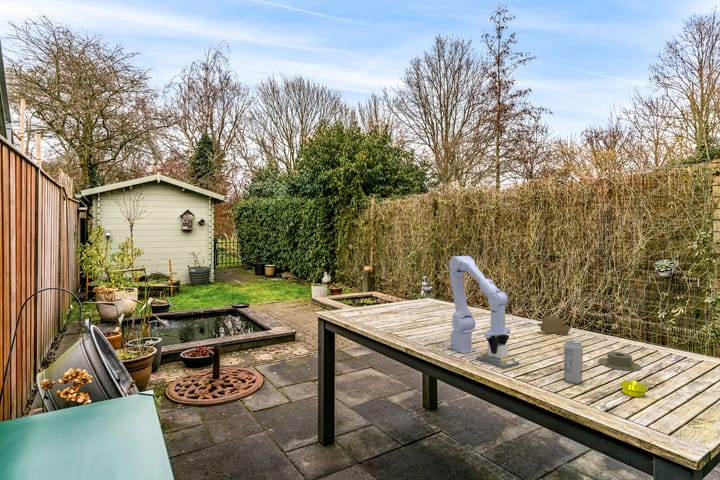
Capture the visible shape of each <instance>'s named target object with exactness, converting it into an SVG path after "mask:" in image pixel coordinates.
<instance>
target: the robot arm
mask: <svg viewBox="0 0 720 480" xmlns="http://www.w3.org/2000/svg"><path fill="white" fill-rule="evenodd" d="M448 264H449V278H450V285H451V290H452V295H453V296H452V297H453V300H454V301H453V302H454V307H455V312H454V313H453V314H452V316H451V317H452V322H451V325H452V328H453V330H451V333H450V347H448V348H449V350H452V351H454V352H455V351H456V352H458V353H461V354H467V353H472V352H476V349H474V348H472V347H473V346H472V343H473V342H472V340H473V338H472V337H473V336H472V333H473V330H474V329H475V327H476V319H475V318H474V316H473V313H472V312H471V311H470V310H469V308H468V303H467V297H466V292H465V291H466V290H465V286H464V280H463V279H464V278H463V276H464V275H465V273H467V272H468V274H470V275H471V276H472V278H473V279H475V280H476V282H477V283H478V287H479V289H480V290H481V291H482V292H483V294H484V295H485V296H486V297H487V302H488V305H489V310H490V330H488V331H485V332H484V333H483V338H485V339H486V340H487V344H488V343H489V345H490V349H491V353H493V354H496V353H497V346H498V343H500V344H504V345H506V344H507V342H508V340H509V339H510V335H511V329H510V328H506V305H507V304H508V302H509V297H508V296H509V295H507V293H506V292H505V291H502V290H500V289H499V288H498V287H497V286H496V285H495V284H494V281H493V280H492V279H490V278H486V276H485V275H484V274H483V273H482V272H481V270H480V269H479V268H478V267H477V265H476V262H475V260H474V259H473V257H472V256H470V255H460V256H459V255H454V256H452V257H451V258H450V260H449V261H448Z"/></svg>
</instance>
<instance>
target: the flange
mask: <svg viewBox="0 0 720 480" xmlns="http://www.w3.org/2000/svg"><path fill="white" fill-rule="evenodd" d="M598 364H600V365H601V366H603V367H606V368H607V369H612V370H616V371H623V372H639V371H640V372H641V370H642V366H641V365H640V364H638V363H636V362H634V361H633V355H631V354H629V353H624V352H620V351H608V352H607V357H603V358H599V359H598Z"/></svg>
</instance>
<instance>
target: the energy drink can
mask: <svg viewBox="0 0 720 480" xmlns="http://www.w3.org/2000/svg"><path fill="white" fill-rule="evenodd" d="M563 346H564V347H563V379H564V380H565V381H566V382H567V383H569V384H574V385H580V384H581V382H583V359H584V358H583V351H584V349H583V348H584V347H583V345H582V342H581V341H580V340H578V339H571V338H569V339H566V340H565V342H564V344H563Z"/></svg>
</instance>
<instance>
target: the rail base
mask: <svg viewBox="0 0 720 480" xmlns="http://www.w3.org/2000/svg"><path fill="white" fill-rule="evenodd" d="M476 360H477V361H480V362H482V361H483V362H484V363H485V364H489V365H490V366H494V367H497V368H499V367H500V368H499V369H503V370H505V369H508V368H512V367H516V366H519V365H520V362H519V361H516V357H515V356H508V358H504V359H499V358H496V357H493V356H490V355H488V351H484V352H480V355H479V356H476ZM483 362H482V363H483Z"/></svg>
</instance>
